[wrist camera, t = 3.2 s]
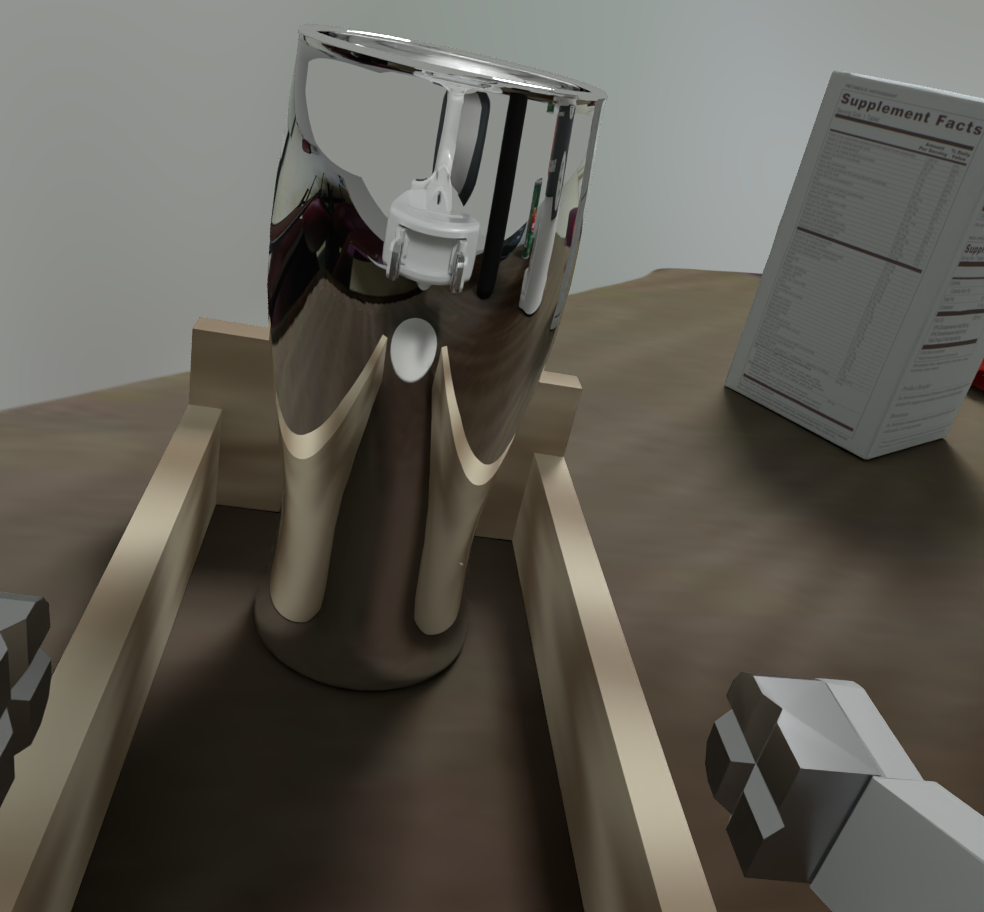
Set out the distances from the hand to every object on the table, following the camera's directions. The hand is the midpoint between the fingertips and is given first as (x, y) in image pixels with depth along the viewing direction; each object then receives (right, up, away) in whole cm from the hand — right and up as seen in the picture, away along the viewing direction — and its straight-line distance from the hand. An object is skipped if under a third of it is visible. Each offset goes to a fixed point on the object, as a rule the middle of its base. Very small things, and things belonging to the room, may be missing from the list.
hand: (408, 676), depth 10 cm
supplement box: (+20, +5, +39) cm, 44 cm away
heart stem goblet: (-3, -2, +15) cm, 15 cm away
